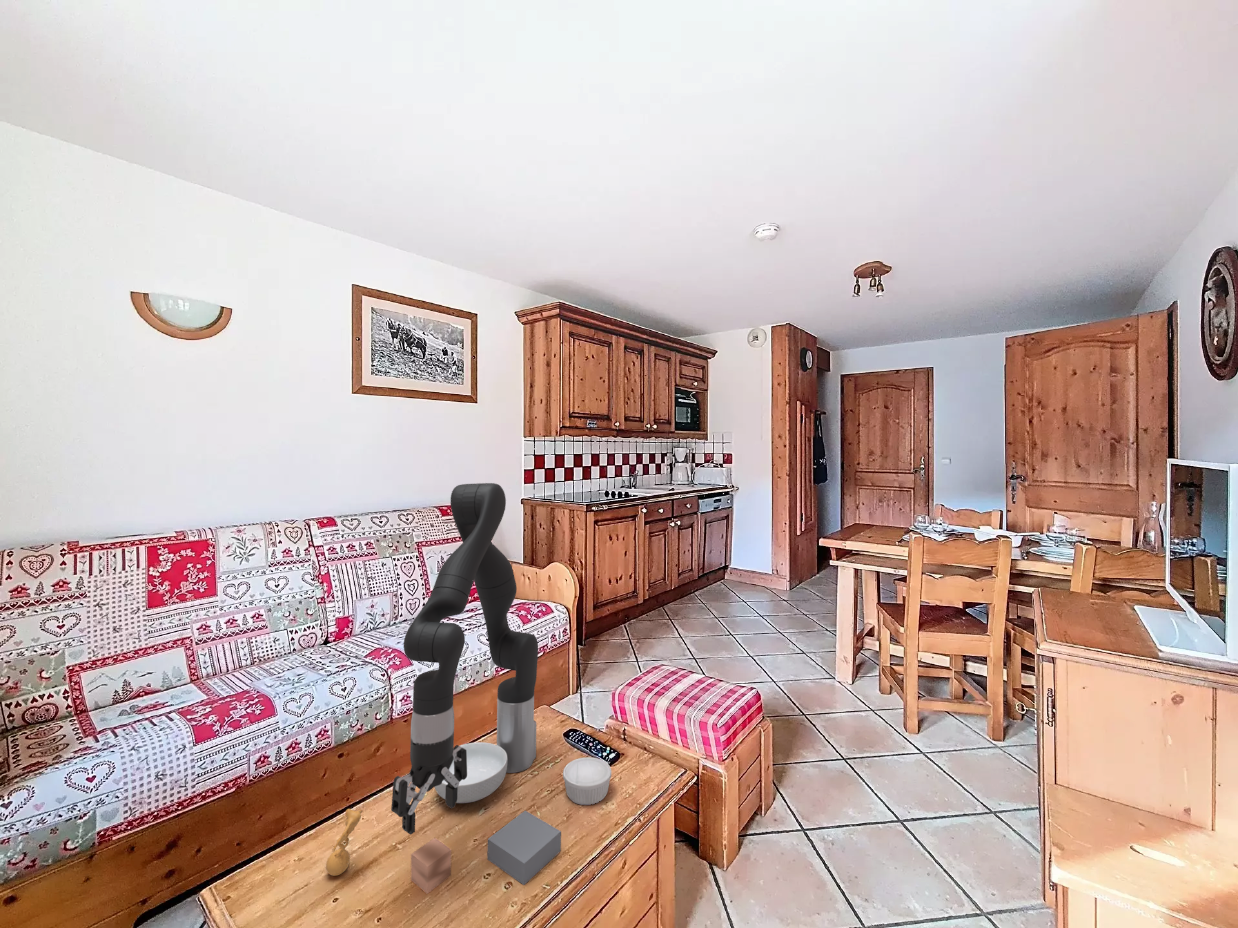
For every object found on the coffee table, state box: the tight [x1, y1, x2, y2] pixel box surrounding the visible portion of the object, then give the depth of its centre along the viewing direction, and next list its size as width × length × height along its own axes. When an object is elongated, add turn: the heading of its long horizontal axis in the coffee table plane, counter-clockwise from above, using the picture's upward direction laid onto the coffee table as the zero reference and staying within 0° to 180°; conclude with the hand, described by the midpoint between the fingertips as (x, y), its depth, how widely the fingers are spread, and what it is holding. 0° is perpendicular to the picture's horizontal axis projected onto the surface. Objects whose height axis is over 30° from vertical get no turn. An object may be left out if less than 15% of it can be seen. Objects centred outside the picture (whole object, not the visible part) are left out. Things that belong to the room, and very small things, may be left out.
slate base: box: [486, 810, 562, 886], centre depth 100 cm, size 10×10×4 cm
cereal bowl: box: [433, 741, 508, 804], centre depth 119 cm, size 17×17×7 cm
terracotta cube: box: [410, 837, 452, 894], centre depth 94 cm, size 5×5×5 cm
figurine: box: [325, 808, 363, 877], centre depth 95 cm, size 8×6×12 cm
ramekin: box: [562, 756, 612, 806], centre depth 119 cm, size 11×11×5 cm
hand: (430, 818), depth 94 cm, fingers open, 8 cm apart
